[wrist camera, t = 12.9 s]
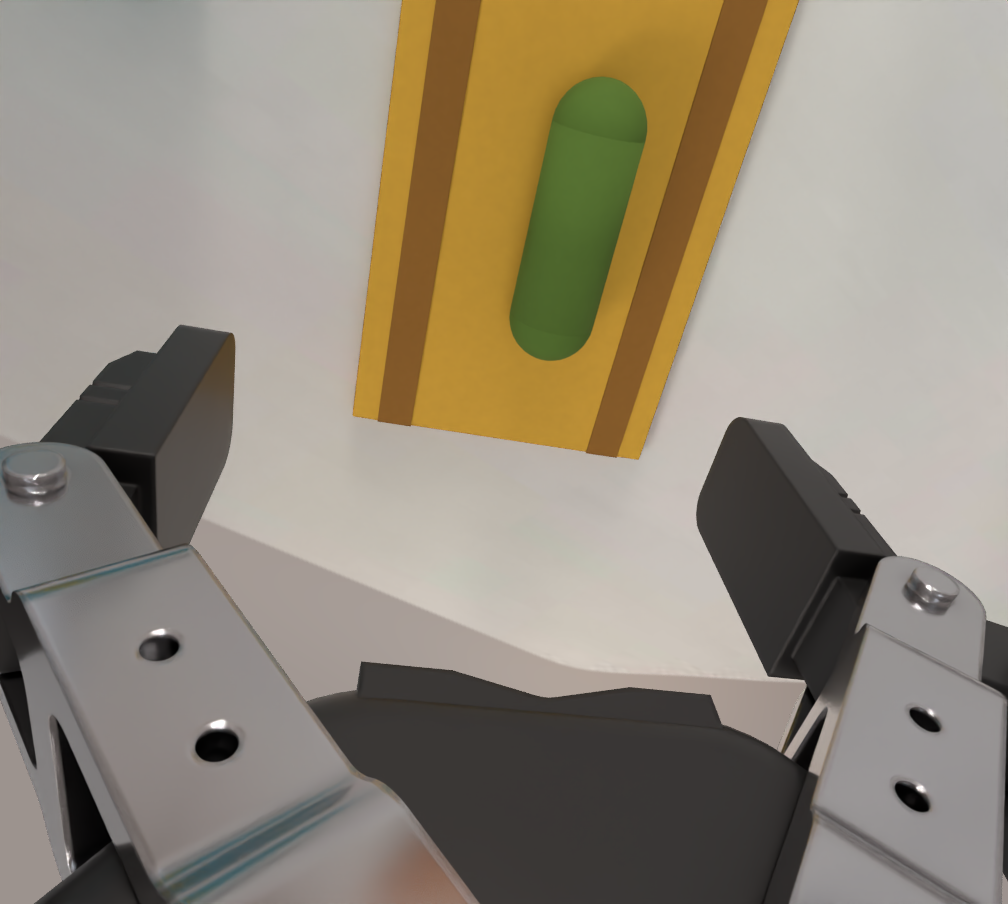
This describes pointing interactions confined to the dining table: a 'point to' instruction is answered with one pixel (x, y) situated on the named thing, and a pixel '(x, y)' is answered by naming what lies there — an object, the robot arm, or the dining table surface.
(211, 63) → the dining table surface
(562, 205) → the pickle
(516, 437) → the towel
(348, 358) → the dining table surface
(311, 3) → the dining table surface
